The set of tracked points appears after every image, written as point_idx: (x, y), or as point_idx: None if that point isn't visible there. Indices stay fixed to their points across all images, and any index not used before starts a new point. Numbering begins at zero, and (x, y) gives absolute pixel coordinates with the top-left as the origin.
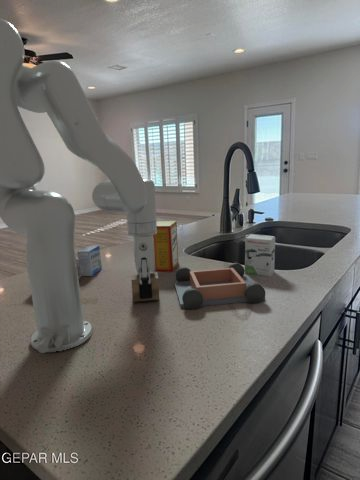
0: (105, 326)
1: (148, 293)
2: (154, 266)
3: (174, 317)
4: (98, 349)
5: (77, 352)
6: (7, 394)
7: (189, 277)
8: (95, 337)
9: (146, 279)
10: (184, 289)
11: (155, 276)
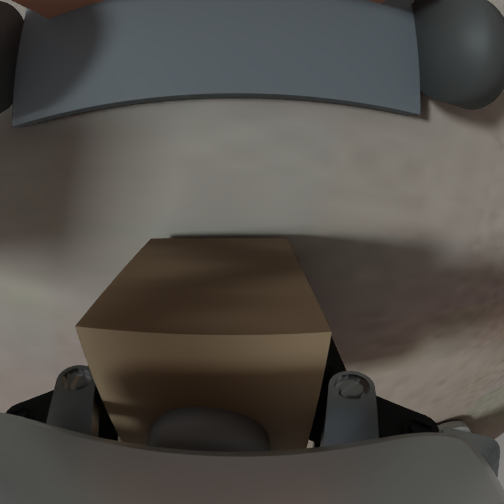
0: (419, 411)
1: (331, 339)
2: (500, 488)
3: (478, 176)
4: (497, 385)
5: (480, 414)
6: (498, 435)
7: (8, 23)
8: (455, 410)
9: (449, 433)
10: (156, 38)
11: (252, 364)
